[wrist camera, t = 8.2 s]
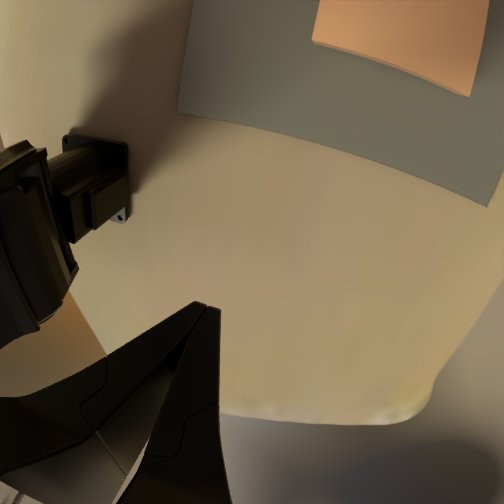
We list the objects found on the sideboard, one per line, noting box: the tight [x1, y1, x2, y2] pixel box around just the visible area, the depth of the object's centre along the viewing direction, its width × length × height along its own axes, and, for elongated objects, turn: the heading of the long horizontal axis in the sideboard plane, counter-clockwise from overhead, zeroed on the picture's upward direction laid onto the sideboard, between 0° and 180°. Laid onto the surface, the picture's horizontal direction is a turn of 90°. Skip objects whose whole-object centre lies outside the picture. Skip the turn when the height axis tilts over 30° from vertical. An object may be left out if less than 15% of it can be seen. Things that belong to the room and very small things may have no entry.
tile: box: [312, 0, 489, 97], centre depth 11 cm, size 2×7×8 cm
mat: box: [177, 0, 504, 207], centre depth 12 cm, size 20×18×1 cm
